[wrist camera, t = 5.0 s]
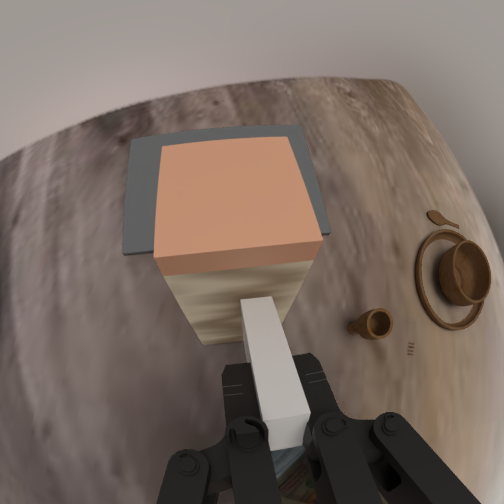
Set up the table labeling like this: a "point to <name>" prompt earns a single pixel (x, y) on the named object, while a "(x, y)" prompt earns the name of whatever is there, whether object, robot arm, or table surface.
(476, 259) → the place setting
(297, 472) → the beverage carton
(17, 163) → the table surface
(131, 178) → the rubber mat
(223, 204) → the birch block
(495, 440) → the table surface
